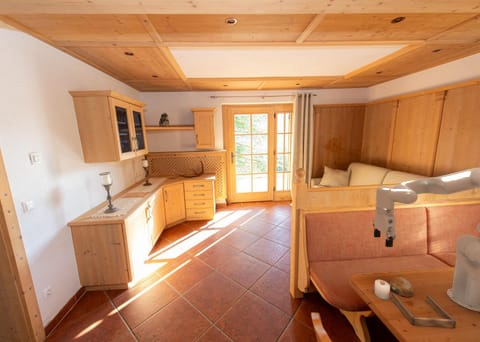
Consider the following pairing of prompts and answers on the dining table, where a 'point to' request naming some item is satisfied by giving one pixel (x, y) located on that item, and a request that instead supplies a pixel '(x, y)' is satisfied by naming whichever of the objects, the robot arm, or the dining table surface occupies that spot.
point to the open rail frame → (445, 322)
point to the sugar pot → (382, 289)
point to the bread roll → (401, 286)
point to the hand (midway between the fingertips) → (382, 241)
